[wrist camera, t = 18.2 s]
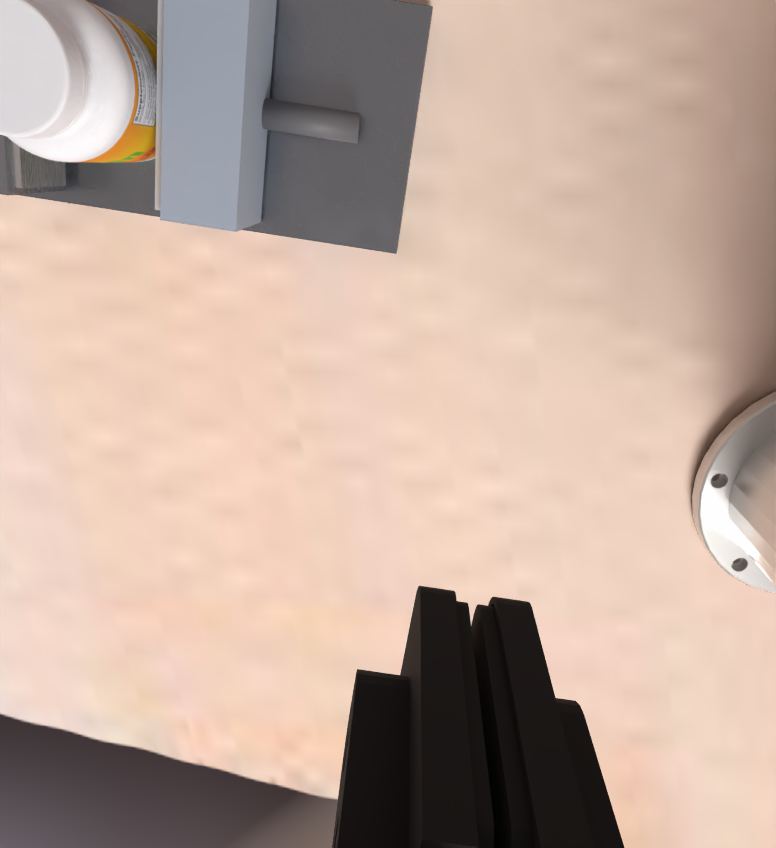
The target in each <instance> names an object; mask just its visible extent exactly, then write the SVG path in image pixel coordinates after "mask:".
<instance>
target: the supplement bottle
mask: <svg viewBox="0 0 776 848" xmlns="http://www.w3.org/2000/svg"><path fill="white" fill-rule="evenodd" d="M156 94H157V37H156V36H155V35H153V34H152V33H150V32H149V31H147V30H146V29H144V28H142V27H140V26H138V25H136V24H134V23H132V22H130V21H128V20H126V19H124V18H122V17H120V16H117V15H115V14H113V13H111V12H109V11H107V10H105V9H103V8H101V7H99V6H97V5H95V4H93V3H91V2H89V1H87V0H0V135H3V136H7V137H8V138H9V139H10V140H11V141H13V142H14V143H15V144H17V145H18V146H20V147H21V148H23V149H24V150H26V151H28V152H30V153H32V154H34V155H37V156H39V157H42V158H45V159H49V160H54V161H61V162H97V163H107V162H143V161H148V160H152V159H155V158H156Z"/></svg>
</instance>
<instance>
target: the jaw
mask: <svg viewBox="0 0 776 848" xmlns="http://www.w3.org/2000/svg"><path fill="white" fill-rule="evenodd" d="M276 4H277V0H158V25H157V94H156V162H155V210H160V220H164V221H170V222H177V223H183V224H189V225H196V226H202V227H209V228H215V229H222V230H228V231H234V232H236V231H239V230H242V229H244V228H247V227H249V226H252V225H255V224H257V223H260V222H261V212H262V198H263V184H264V170H265V156H266V143H267V130H273V131H279V132H285V133H292V134H298V135H304V136H311V137H317V138H323V139H330V140H336V141H342V142H349V143H355V144H357V143H358V139H359V132H360V123H361V113H357V112H350V111H344V110H338V109H332V108H325V107H319V106H313V105H306V104H300V103H294V102H288V101H281V100H275V99H270V87H271V73H272V59H273V45H274V31H275V17H276Z"/></svg>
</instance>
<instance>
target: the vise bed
mask: <svg viewBox="0 0 776 848" xmlns="http://www.w3.org/2000/svg"><path fill="white" fill-rule="evenodd" d="M87 1H89V2H91V3H93V4H95V5H97V6H99V7H101V8H103V9H105V10H107V11H109V12H111V13H113V14H115V15H117V16H120V17H122V18H124V19H126V20H128V21H130V22H132V23H134V24H136V25H138V26H140V27H142V28H144V29H146V30H147V31H149V32H150V33H152V34H153V35H155V36H156V37H157V25H158V0H87ZM432 9H433V7H432V6H426V5H419V4H413V3H407V2H401V1H395V0H277V4H276V17H275V31H274V45H273V59H272V73H271V87H270V99H275V100H281V101H288V102H294V103H300V104H306V105H313V106H319V107H325V108H332V109H338V110H344V111H350V112H357V113H361V123H360V132H359V139H358V143H357V144H355V143H349V142H342V141H336V140H330V139H323V138H317V137H311V136H304V135H298V134H292V133H285V132H279V131H273V130H267V143H266V156H265V170H264V184H263V198H262V212H261V222H260V223H257V224H255V225H252V226H249V227H247V228H244V229H242V230H247V231H254V232H260V233H266V234H273V235H279V236H286V237H292V238H299V239H305V240H311V241H318V242H324V243H331V244H337V245H344V246H350V247H357V248H363V249H369V250H376V251H382V252H389V253H395V254H396V253H397V247H398V240H399V234H400V227H401V220H402V213H403V207H404V200H405V193H406V186H407V180H408V173H409V166H410V159H411V152H412V146H413V139H414V132H415V125H416V119H417V112H418V105H419V98H420V92H421V85H422V78H423V71H424V65H425V58H426V51H427V44H428V37H429V31H430V24H431V17H432ZM155 162H156V158H155V159H152V160H148V161H143V162H107V163H97V162H61V161H54V160H49V159H45V158H42V157H39V156H37V155H34V154H32V153H30V152H28V151H26V150H24V149H23V148H21V147H20V146H18V145H17V144H15V143H14V142H13V141H11V140H10V139H9V138H8V137H7V136H3V135H0V194H3V195H22V196H28V197H35V198H41V199H48V200H54V201H61V202H67V203H73V204H80V205H86V206H93V207H99V208H106V209H112V210H119V211H125V212H131V213H138V214H144V215H151V216H157V217H160V210H155Z"/></svg>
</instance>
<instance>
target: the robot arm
mask: <svg viewBox="0 0 776 848" xmlns="http://www.w3.org/2000/svg"><path fill="white" fill-rule="evenodd" d="M714 475H715V476H714ZM692 509H693V518H694V522H695V526H696V530H697V533H698V535H699V537H700V539H701V540H702V542H703V544H704V546H705V548H706V549H707V551H708V552H709V553H710V554H711V556H712V557H713V558H714V560H715V561H716V562H717V564H718V565H720V566H721V567H722V568H723V569H724V570H725V571H726V572H727V573H728V574H729V575H731V576H732V577H734V578H736V579H738V580H739V581H741V582H743V583H745V584H746V585H748V586H751V587H754V588H757V589H760V590H763V591H766V592H771V593H776V391H775V392H773V393H771V394H769V395H768V396H766V397H764V398H762V399H761V400H759V401H757V402H755V403H753V404H752V405H751V406H749V407H748V408H747V409H746V410H744V411H743V412H742V413H740V414H739V415H738V416H737V417H735V418H734V419H733V420H732V421H731V422H730V423H729V424H728V425H727V426H726V427H725V428H724V430H723V431H722V432H721V433H720V434H719V435H718V436H717V437H716V439H715V440H714V442H713V443H712V445H711V446H710V448H709V450H708V451H707V453H706V454H705V456H704V458H703V460H702V463H701V465H700V468H699V470H698V472H697V475H696V478H695V484H694V489H693V494H692ZM332 848H624V845H623V842H622V839H621V835H620V832H619V829H618V825H617V822H616V819H615V815H614V812H613V809H612V806H611V802H610V799H609V796H608V792H607V789H606V786H605V782H604V779H603V776H602V773H601V769H600V766H599V763H598V759H597V756H596V753H595V750H594V746H593V743H592V740H591V736H590V733H589V730H588V726H587V723H586V720H585V717H584V714H583V711H582V709H581V707H580V705H579V704H578V703H577V702H576V701H572V700H565V699H558V698H555V695H554V691H553V687H552V683H551V679H550V676H549V672H548V668H547V664H546V660H545V656H544V652H543V649H542V645H541V641H540V637H539V633H538V629H537V625H536V622H535V618H534V614H533V610H532V607H531V604H530V603H529V602H525V601H518V600H512V599H505V598H498V597H492V598H491V600H490V602H489V605H488V606H485V605H477V607H476V609H475V613H474V617H473V621H472V625H471V623H470V614H469V606H468V603H465V602H458V601H456V594H455V592H454V591H451V590H444V589H437V588H430V587H424V586H419V587H418V589H417V593H416V598H415V603H414V608H413V613H412V618H411V623H410V628H409V633H408V639H407V644H406V649H405V654H404V659H403V664H402V669H401V674H400V675H393V674H386V673H379V672H372V671H366V670H359V669H357V673H356V678H355V684H354V690H353V696H352V702H351V708H350V715H349V721H348V728H347V735H346V742H345V749H344V757H343V764H342V772H341V780H340V788H339V796H338V805H337V813H336V821H335V829H334V837H333V845H332Z"/></svg>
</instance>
